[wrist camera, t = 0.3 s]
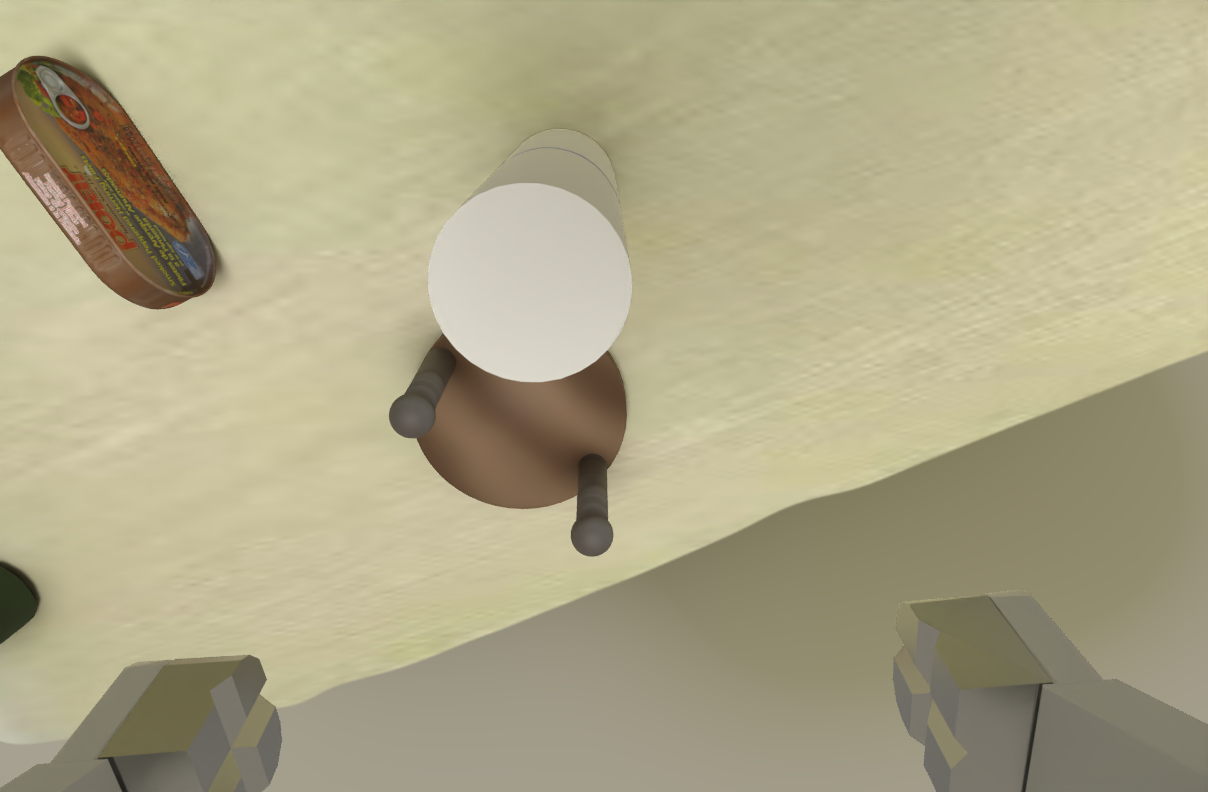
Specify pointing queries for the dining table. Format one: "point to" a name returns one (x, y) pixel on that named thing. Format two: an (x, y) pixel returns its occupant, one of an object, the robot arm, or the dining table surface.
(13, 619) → the character mug
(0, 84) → the tin
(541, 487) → the roll holder
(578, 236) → the cylindrical container
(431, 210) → the dining table surface
